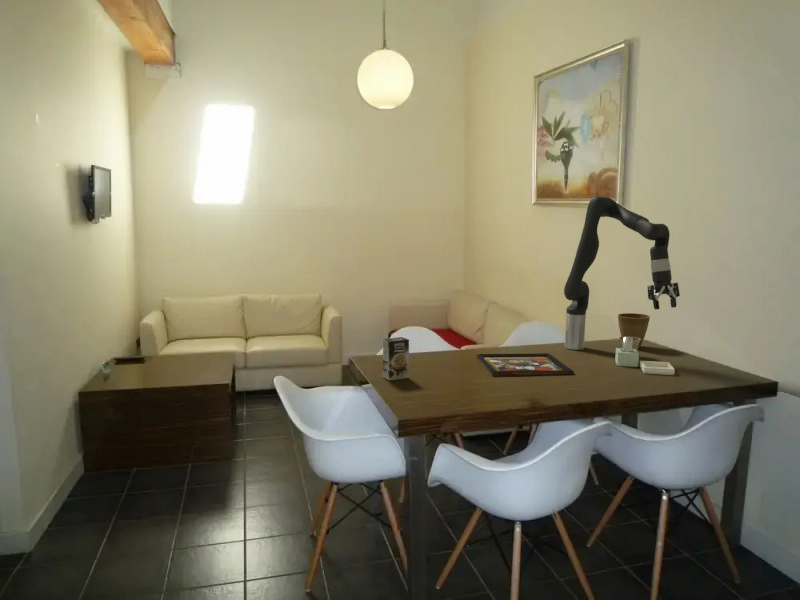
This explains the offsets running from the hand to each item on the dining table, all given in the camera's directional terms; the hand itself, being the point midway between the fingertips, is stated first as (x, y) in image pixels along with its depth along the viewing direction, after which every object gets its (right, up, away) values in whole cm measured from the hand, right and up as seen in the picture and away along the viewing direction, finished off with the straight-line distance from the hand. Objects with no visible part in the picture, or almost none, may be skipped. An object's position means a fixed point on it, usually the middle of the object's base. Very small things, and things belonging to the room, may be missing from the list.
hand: (665, 308), depth 263 cm
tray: (-3, -27, +3) cm, 27 cm away
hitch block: (-12, -25, +14) cm, 31 cm away
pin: (-12, -25, +14) cm, 31 cm away
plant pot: (+3, -20, +47) cm, 51 cm away
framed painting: (-59, -26, +10) cm, 65 cm away
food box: (-114, -28, -9) cm, 118 cm away
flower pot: (-5, -23, +27) cm, 36 cm away
